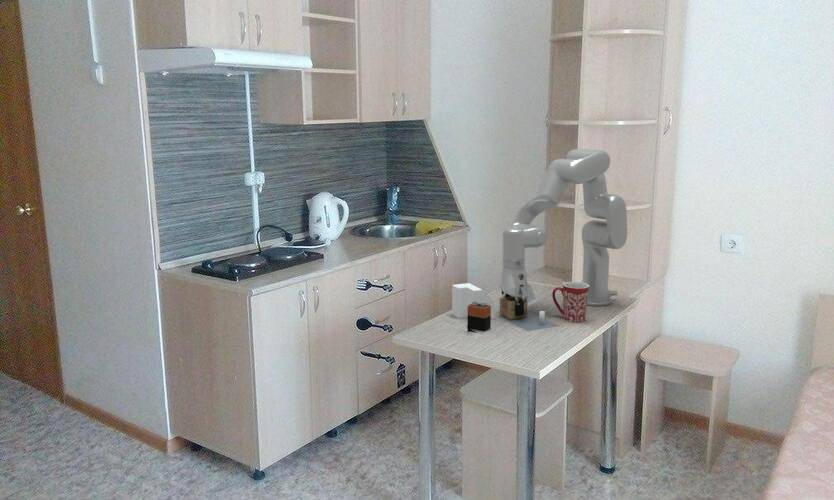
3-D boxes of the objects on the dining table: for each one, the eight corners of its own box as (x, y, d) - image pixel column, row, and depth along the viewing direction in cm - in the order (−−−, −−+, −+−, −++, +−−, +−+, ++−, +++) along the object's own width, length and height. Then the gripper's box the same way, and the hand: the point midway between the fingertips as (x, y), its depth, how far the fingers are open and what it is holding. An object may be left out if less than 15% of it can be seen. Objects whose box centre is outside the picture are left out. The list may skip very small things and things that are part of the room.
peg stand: (526, 314, 246) (526, 298, 244) (559, 329, 228) (560, 312, 227) (495, 318, 240) (495, 303, 239) (527, 334, 222) (527, 317, 221)
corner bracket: (452, 317, 243) (452, 284, 240) (480, 313, 247) (480, 281, 244) (464, 325, 233) (464, 291, 231) (494, 321, 237) (494, 288, 235)
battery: (484, 335, 223) (485, 305, 221) (466, 331, 226) (467, 302, 224) (491, 331, 226) (491, 302, 224) (473, 328, 230) (473, 299, 228)
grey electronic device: (521, 315, 244) (513, 288, 244) (510, 317, 247) (502, 291, 247) (541, 304, 258) (533, 279, 258) (530, 306, 261) (522, 282, 261)
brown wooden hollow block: (516, 311, 243) (516, 295, 242) (527, 316, 237) (527, 300, 235) (499, 314, 240) (499, 298, 239) (510, 319, 234) (510, 302, 233)
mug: (591, 321, 236) (592, 283, 234) (582, 327, 229) (584, 289, 226) (557, 315, 243) (558, 279, 241) (547, 322, 236) (548, 284, 233)
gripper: (537, 266, 228) (536, 317, 232) (509, 257, 244) (509, 305, 247) (518, 269, 225) (517, 320, 229) (491, 259, 241) (491, 308, 244)
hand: (513, 312), depth 238 cm, fingers closed on brown wooden hollow block, 7 cm apart
